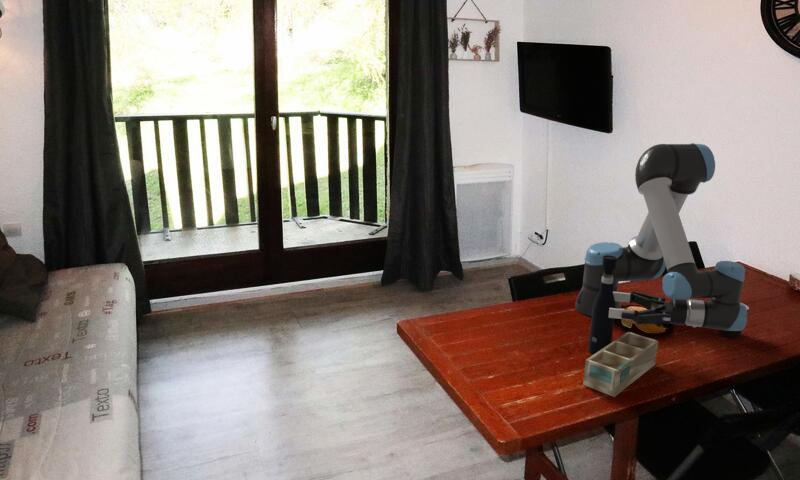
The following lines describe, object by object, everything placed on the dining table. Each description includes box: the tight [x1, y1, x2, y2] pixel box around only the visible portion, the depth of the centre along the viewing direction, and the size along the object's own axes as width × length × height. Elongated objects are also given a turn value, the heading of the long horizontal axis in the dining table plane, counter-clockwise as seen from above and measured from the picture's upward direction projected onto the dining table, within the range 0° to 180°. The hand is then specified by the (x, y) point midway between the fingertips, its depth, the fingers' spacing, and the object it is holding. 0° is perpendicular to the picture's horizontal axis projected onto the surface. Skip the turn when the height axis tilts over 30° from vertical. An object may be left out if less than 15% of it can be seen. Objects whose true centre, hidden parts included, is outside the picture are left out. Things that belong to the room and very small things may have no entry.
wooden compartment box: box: [582, 331, 659, 398], centre depth 186 cm, size 9×26×8 cm, turn 137°
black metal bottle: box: [587, 255, 617, 355], centre depth 197 cm, size 6×6×30 cm
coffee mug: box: [717, 302, 750, 340], centre depth 215 cm, size 12×9×10 cm
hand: (608, 303), depth 196 cm, fingers open, 13 cm apart
